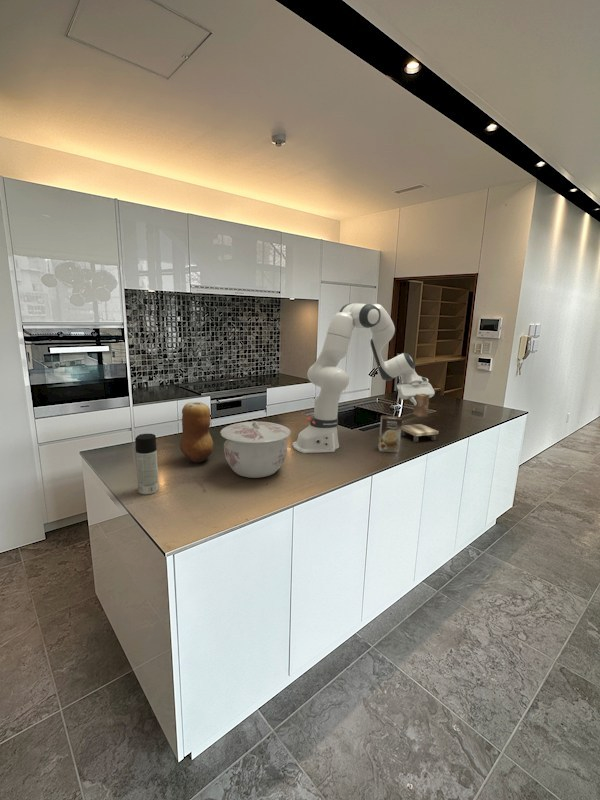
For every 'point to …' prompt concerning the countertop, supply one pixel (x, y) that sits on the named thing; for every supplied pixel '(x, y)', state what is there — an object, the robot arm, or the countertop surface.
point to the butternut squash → (196, 432)
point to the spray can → (147, 463)
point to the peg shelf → (419, 431)
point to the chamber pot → (255, 447)
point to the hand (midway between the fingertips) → (421, 404)
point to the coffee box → (390, 433)
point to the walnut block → (421, 405)
